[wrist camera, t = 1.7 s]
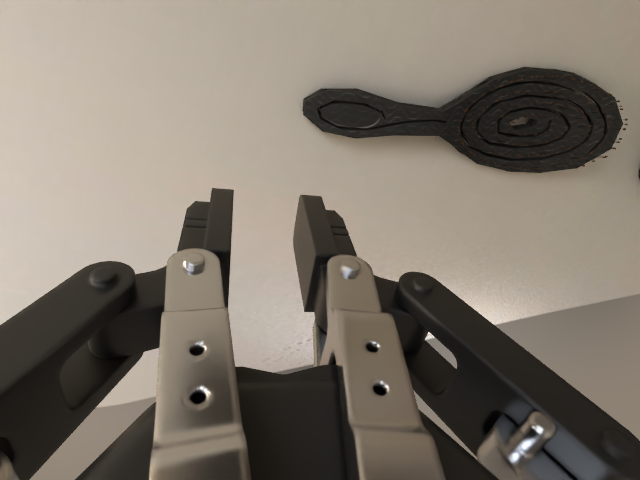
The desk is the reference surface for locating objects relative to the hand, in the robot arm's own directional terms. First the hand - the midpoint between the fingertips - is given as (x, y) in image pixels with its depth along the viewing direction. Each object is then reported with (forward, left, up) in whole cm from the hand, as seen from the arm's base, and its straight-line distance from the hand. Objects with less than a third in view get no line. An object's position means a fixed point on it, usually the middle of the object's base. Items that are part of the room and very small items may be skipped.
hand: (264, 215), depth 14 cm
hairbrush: (0, +16, -17) cm, 24 cm away
